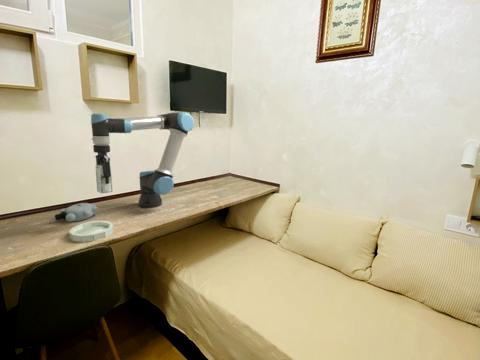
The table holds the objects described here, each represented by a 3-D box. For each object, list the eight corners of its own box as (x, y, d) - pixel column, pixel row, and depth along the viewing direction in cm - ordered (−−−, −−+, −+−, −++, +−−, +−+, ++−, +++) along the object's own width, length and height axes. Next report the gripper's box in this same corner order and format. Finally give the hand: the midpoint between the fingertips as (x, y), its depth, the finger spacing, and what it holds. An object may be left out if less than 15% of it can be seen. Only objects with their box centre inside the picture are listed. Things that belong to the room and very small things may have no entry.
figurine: (91, 209, 156) (53, 221, 142) (88, 197, 153) (49, 207, 139) (102, 216, 145) (62, 230, 131) (99, 203, 142) (58, 215, 128)
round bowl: (105, 223, 136) (104, 218, 136) (119, 233, 124) (119, 227, 124) (65, 233, 123) (65, 227, 122) (77, 245, 111) (76, 239, 110)
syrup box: (108, 190, 138) (106, 163, 135) (113, 191, 134) (111, 165, 131) (97, 191, 134) (94, 164, 131) (101, 193, 130) (99, 166, 127)
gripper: (87, 143, 133) (91, 186, 137) (100, 146, 120) (103, 193, 125) (102, 143, 138) (105, 184, 143) (116, 145, 125) (119, 190, 130)
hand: (104, 188), depth 134 cm, fingers closed on syrup box, 6 cm apart
